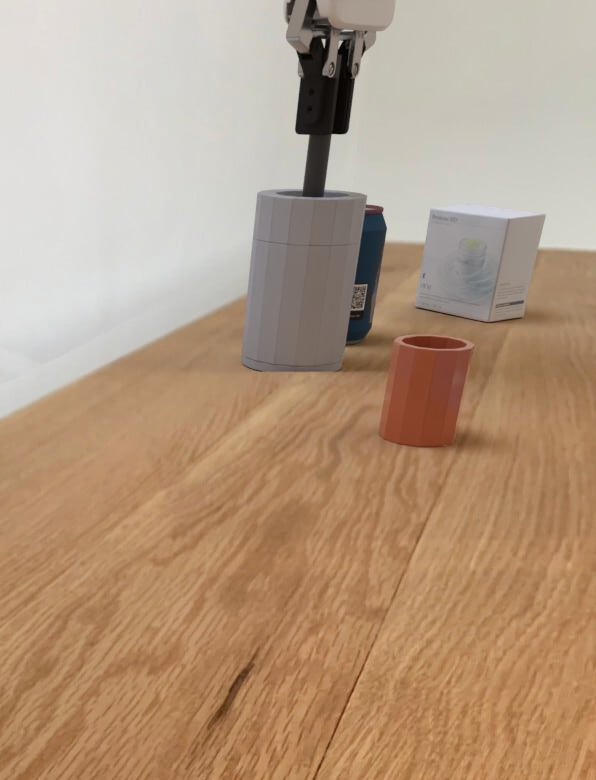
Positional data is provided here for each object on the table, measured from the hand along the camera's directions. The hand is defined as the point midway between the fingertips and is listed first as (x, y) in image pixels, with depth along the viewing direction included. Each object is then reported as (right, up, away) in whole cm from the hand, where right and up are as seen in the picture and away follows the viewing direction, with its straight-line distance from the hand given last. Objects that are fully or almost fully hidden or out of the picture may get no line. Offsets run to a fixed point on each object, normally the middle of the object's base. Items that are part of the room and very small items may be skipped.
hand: (321, 132), depth 91 cm
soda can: (+6, -10, +20) cm, 23 cm away
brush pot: (+4, -29, -11) cm, 31 cm away
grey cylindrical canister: (0, -16, +10) cm, 19 cm away
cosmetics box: (+24, -3, +32) cm, 41 cm away
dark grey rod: (0, -11, +7) cm, 13 cm away
